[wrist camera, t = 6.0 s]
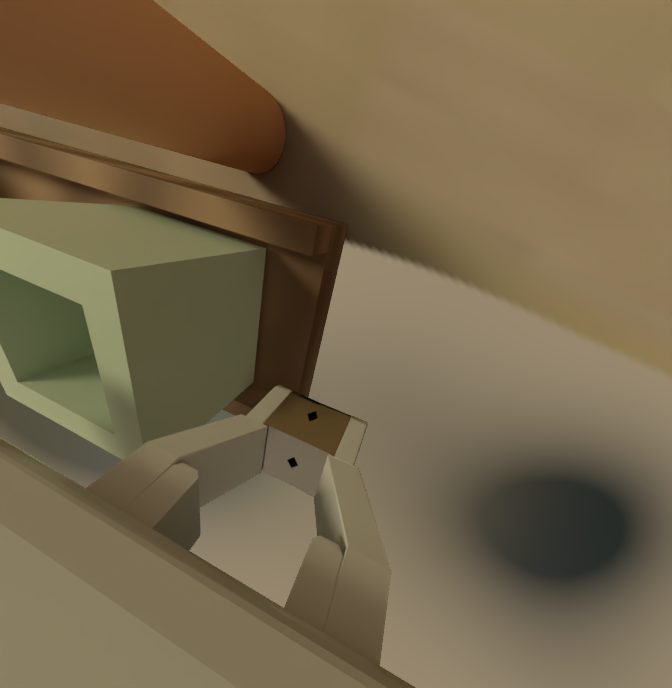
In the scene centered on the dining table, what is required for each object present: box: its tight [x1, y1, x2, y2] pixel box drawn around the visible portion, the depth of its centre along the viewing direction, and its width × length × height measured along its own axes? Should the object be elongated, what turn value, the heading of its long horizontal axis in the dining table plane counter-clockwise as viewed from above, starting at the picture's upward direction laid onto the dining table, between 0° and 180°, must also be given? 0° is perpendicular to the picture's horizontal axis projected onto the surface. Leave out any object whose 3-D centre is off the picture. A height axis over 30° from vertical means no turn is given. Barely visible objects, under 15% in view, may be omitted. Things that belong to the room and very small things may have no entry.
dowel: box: [0, 0, 286, 174], centre depth 7 cm, size 3×3×10 cm
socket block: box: [0, 198, 266, 460], centre depth 10 cm, size 7×7×6 cm
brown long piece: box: [0, 127, 348, 416], centre depth 13 cm, size 26×10×8 cm, turn 76°
